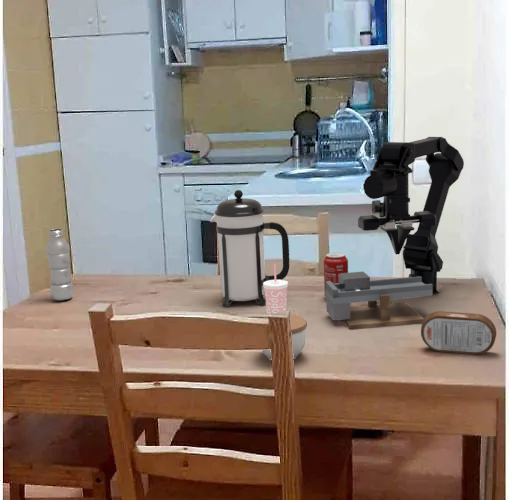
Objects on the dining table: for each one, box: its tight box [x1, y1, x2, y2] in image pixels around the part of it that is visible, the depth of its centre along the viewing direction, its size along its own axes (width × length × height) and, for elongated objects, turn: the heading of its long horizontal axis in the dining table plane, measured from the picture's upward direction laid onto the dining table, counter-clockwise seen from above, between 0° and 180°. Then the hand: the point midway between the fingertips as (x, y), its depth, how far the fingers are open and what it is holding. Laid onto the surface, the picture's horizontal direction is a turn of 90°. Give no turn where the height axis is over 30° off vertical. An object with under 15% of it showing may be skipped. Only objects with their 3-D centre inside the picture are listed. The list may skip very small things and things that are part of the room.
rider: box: [339, 271, 371, 292], centre depth 168 cm, size 6×6×4 cm
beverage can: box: [323, 252, 349, 297], centre depth 187 cm, size 6×6×12 cm
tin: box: [420, 310, 497, 355], centre depth 146 cm, size 15×3×8 cm, turn 70°
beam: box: [325, 276, 433, 321], centre depth 170 cm, size 24×9×8 cm, turn 97°
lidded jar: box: [261, 314, 308, 361], centre depth 148 cm, size 11×11×9 cm
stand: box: [342, 294, 425, 330], centre depth 170 cm, size 18×14×7 cm
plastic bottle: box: [45, 228, 75, 301], centre depth 197 cm, size 6×7×20 cm
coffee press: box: [209, 189, 290, 308], centre depth 187 cm, size 17×16×30 cm
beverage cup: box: [263, 262, 289, 314], centre depth 173 cm, size 6×6×14 cm
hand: (397, 254), depth 179 cm, fingers closed
